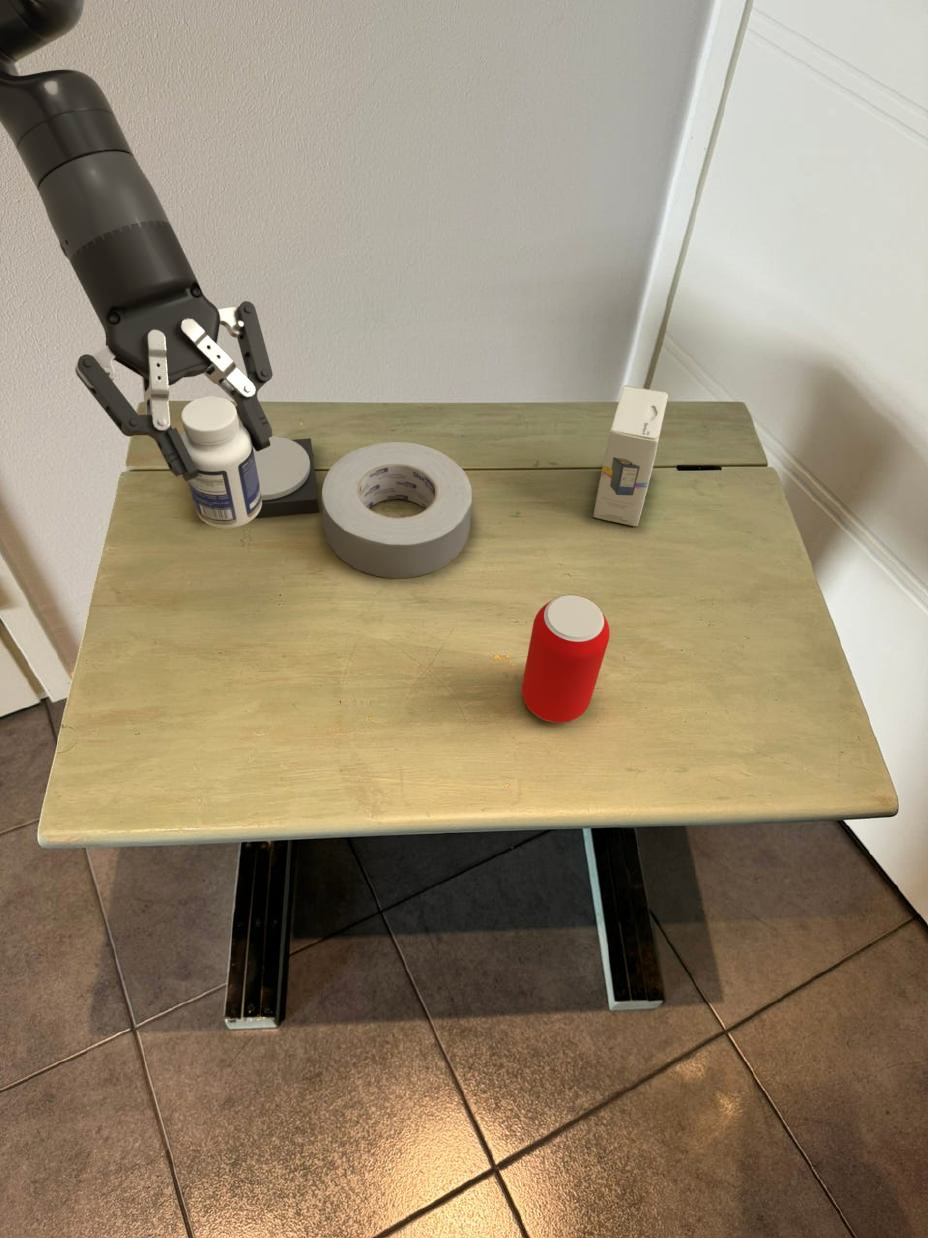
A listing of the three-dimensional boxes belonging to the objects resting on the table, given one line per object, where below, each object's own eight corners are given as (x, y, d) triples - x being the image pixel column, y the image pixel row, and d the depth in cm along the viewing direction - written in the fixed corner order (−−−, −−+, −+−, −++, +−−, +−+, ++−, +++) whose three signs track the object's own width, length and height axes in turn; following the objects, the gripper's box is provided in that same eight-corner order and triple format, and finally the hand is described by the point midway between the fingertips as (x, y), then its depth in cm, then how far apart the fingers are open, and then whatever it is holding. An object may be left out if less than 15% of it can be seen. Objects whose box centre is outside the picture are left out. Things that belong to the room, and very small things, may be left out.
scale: (203, 523, 87) (197, 501, 85) (204, 460, 93) (198, 439, 91) (319, 512, 89) (316, 491, 87) (312, 451, 95) (310, 430, 93)
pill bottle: (243, 475, 71) (225, 380, 64) (274, 513, 69) (260, 419, 61) (184, 500, 69) (158, 405, 61) (214, 540, 67) (191, 446, 59)
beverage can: (530, 664, 78) (546, 578, 68) (595, 683, 77) (620, 598, 67) (512, 717, 74) (526, 633, 65) (580, 737, 73) (604, 656, 64)
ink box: (636, 528, 90) (662, 441, 81) (589, 518, 90) (610, 430, 81) (647, 478, 95) (672, 391, 86) (603, 468, 96) (623, 381, 87)
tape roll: (497, 518, 90) (502, 482, 86) (409, 602, 82) (409, 568, 78) (387, 458, 95) (386, 422, 91) (293, 532, 87) (288, 496, 83)
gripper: (19, 249, 53) (148, 495, 57) (223, 194, 59) (326, 420, 63) (16, 287, 59) (132, 505, 64) (200, 234, 66) (295, 436, 70)
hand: (228, 462), depth 63 cm, fingers closed on pill bottle, 5 cm apart
